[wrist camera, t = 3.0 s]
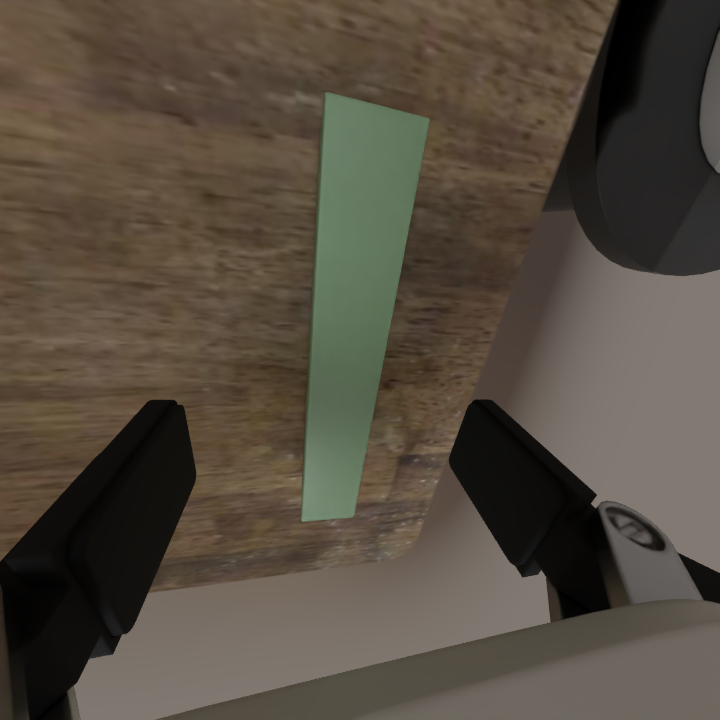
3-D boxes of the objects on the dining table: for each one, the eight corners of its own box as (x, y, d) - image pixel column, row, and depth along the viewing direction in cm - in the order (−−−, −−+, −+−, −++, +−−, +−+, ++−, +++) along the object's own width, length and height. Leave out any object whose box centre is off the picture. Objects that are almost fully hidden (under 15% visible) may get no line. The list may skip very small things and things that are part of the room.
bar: (395, 149, 10) (431, 117, 7) (346, 468, 18) (353, 517, 15) (319, 132, 10) (324, 90, 7) (302, 470, 18) (301, 522, 15)
